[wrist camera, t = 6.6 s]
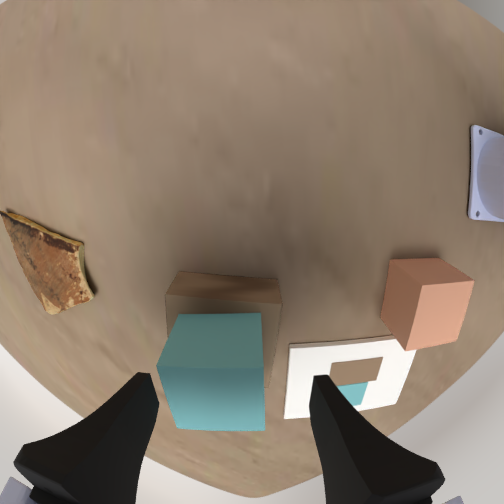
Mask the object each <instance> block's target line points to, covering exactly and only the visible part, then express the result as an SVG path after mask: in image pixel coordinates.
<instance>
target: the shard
mask: <svg viewBox="0 0 504 504" xmlns="http://www.w3.org/2000/svg"><path fill="white" fill-rule="evenodd" d="M0 214H1V216H2V218H3V221H4V224H5V227H6V230H7V232H8V234H9V236H10V238H11V242H12V244H13V247H14V250H15V252H16V256H17V258H18V260H19V263H20V265H21V267H22V268H23V271H24V274H25V276H26V278H27V279H28V281H29V283H30V285H31V287H32V289H33V291H34V293H35V294H36V296H37V297H38V299H39V300H40V302H41V304H42V305H43V307H44V309H45V310H46V311H47V312H48V313H49V314H51V315H52V314H56V313H61V312H63V311H65V310H67V309H69V308H71V307H73V306H75V305H78V304H81V303H86V302H89V301H91V300H92V298H94V297H95V296H94V294H93V293H92V291H91V289H90V288H89V286H88V283H87V280H86V275H85V269H84V244H83V243H81V242H78V241H74V240H70V239H67V238H64V237H62V236H60V235H59V234H56V233H52V232H49V231H48V230H46V229H45V228H44V227H42V226H40V225H38V224H36V223H34V222H33V221H31V220H28V219H27V218H25V217H23V216H20V215H16V214H14V213H6V212H4V211H0Z"/></svg>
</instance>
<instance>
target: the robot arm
mask: <svg viewBox="0 0 504 504" xmlns="http://www.w3.org/2000/svg"><path fill="white" fill-rule="evenodd" d="M479 131H480V134H479ZM476 212H477V215H476ZM468 216H469V218H471V219H474V220H486V221H498V222H504V135H501V134H499V133H496V132H494V131H491V130H489V129H486V128H483V127H480V126H478V125H472V127H471V183H470V198H469V209H468ZM158 408H159V401H158V398H157V395H156V392H155V388H154V385H153V382H152V379H151V375H150V373H141V372H138V373H136V374H135V375H134V376H133V377H132V378H131V379H130V380H129V381H128V382H127V383H126V384H125V385H124V386H123V387H122V388H121V389H120V390H119V391H118V392H116V393H115V394H114V395H113V396H112V397H111V398H110V399H109V400H108V401H107V402H105V403H104V404H103V405H102V406H101V407H99V408H98V409H97V410H96V411H94V412H93V413H92V414H90V415H89V416H88V417H86V418H85V419H83V420H81V421H80V422H78V423H77V424H75V425H73V426H71V427H69V428H68V429H66V430H64V431H62V432H60V433H57V434H55V435H53V436H50V437H48V438H45V439H42V440H39V441H36V442H31V443H28V444H24V445H23V447H22V448H21V450H20V452H19V453H18V455H17V457H16V459H15V461H14V466H15V467H16V469H17V470H18V471H19V472H20V473H21V474H22V475H23V476H24V477H25V478H26V479H27V480H28V481H29V482H31V483H32V484H33V485H34V487H33V489H32V490H31V489H30V488H29V487H27V486H26V485H24V484H22V483H21V482H19V481H18V480H16V479H14V478H13V477H10V478H9V480H8V482H7V484H6V486H5V487H4V489H3V491H2V493H1V496H0V504H135V502H136V493H137V486H138V479H139V474H140V469H141V464H142V461H143V457H144V454H145V451H146V449H147V446H148V443H149V440H150V437H151V434H152V431H153V428H154V425H155V422H156V418H157V413H158ZM309 412H310V420H311V426H312V430H313V434H314V438H315V442H316V446H317V449H318V453H319V457H320V461H321V465H322V470H323V478H324V485H325V494H326V504H432V499H431V495H432V494H434V493H435V492H436V491H437V490H438V489H439V488H440V487H441V485H443V483H444V481H445V478H444V476H443V473H442V471H441V469H440V467H439V466H438V464H437V463H436V462H434V461H431V460H429V459H426V458H424V457H421V456H419V455H417V454H415V453H412V452H410V451H409V450H407V449H405V448H403V447H402V446H400V445H398V444H397V443H395V442H394V441H392V440H390V439H389V438H388V437H386V436H385V435H384V434H382V433H381V432H380V431H378V430H377V429H376V428H375V427H374V426H372V425H371V424H370V423H369V422H368V421H367V420H366V419H365V418H364V417H363V416H362V415H361V414H360V413H359V412H358V411H357V410H356V409H355V408H354V407H353V406H352V404H351V403H350V402H349V401H348V400H347V399H346V398H345V396H344V395H343V394H342V393H341V391H340V390H339V389H338V387H337V386H336V385H335V383H334V382H333V381H332V379H331V378H330V376H329V375H327V374H325V375H314V376H313V383H312V389H311V395H310V401H309ZM443 504H464V503H463V501H462V499H461V497H460V496H457V497H455V498H453V499H451V500H449V501H447V502H445V503H443Z"/></svg>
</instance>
